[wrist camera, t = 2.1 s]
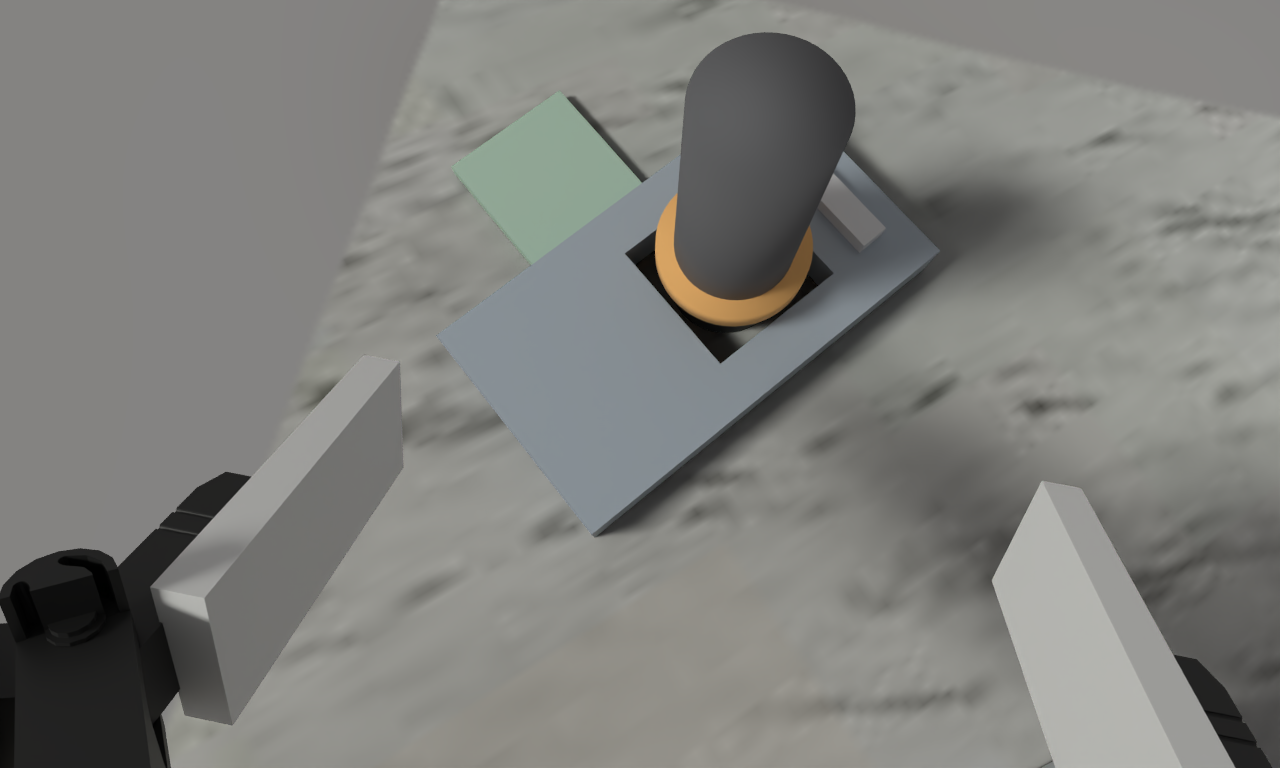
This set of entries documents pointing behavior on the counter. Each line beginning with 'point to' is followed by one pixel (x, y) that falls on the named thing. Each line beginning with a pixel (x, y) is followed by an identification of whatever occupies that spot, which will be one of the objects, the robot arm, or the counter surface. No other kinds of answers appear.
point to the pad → (545, 177)
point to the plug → (751, 178)
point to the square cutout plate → (660, 341)
